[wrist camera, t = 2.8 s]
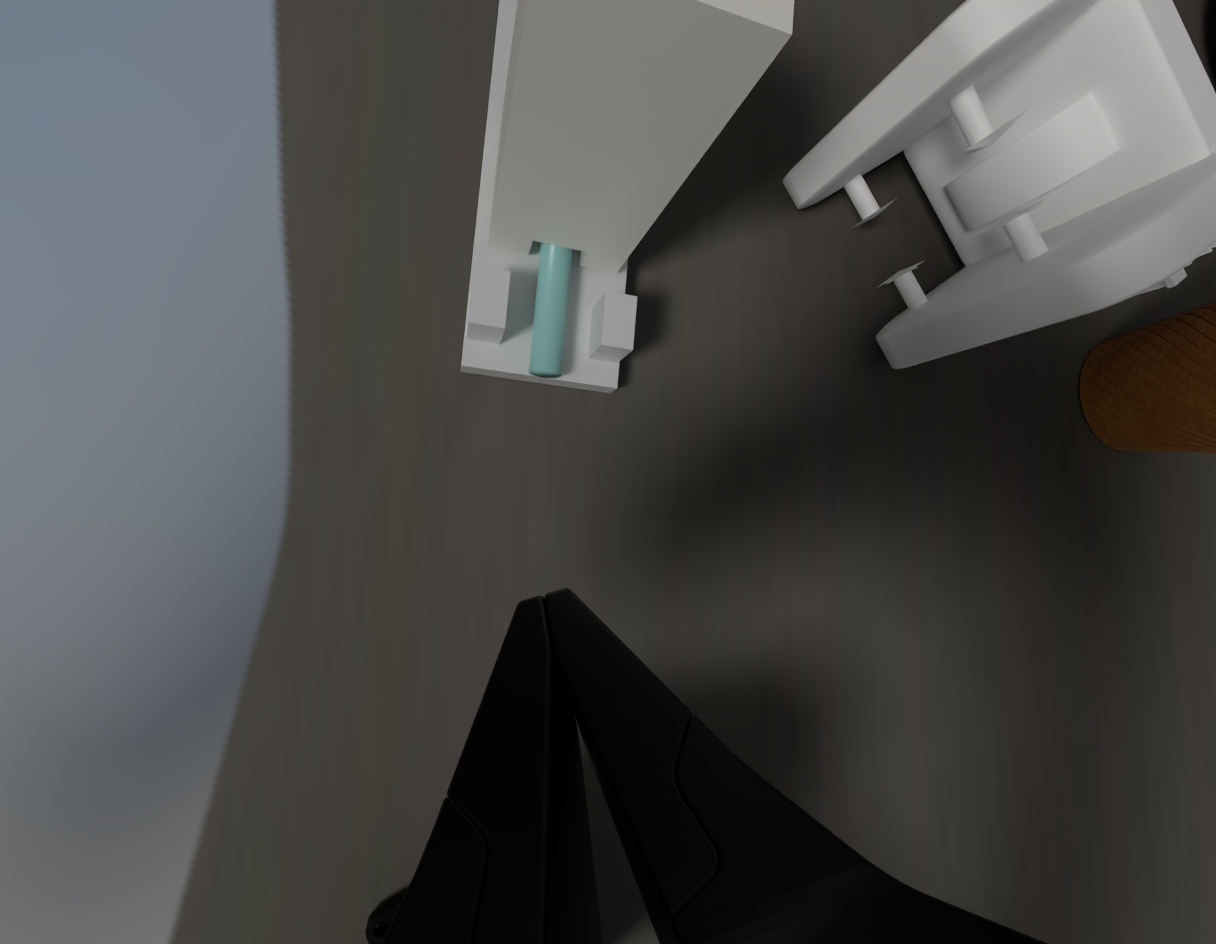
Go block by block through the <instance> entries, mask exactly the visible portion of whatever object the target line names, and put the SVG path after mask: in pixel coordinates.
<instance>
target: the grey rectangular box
mask: <svg viewBox="0 0 1216 944" xmlns="http://www.w3.org/2000/svg"><path fill="white" fill-rule="evenodd" d="M793 11H794V0H518V2H517V9H516V16H515V23H514V30H513V37H512V44H511V51H510V58H509V66H508V73H507V80H506V87H505V94H504V101H503V108H502V115H501V123H500V133H499V143H498V152H497V162H496V172H495V181H494V191H493V201H492V211H491V220H490V230H489V240H488V247H492V248H497V249H502V250H507V251H511V252H516V253H521V254H526V255H528V254H529V251H530V248H531V245H532V242H533V241H537V242H542V243H547V244H551V245H556V246H561V247H565V248H570V249H575V250H579V251H581V256H580V266H584V267H589V268H594V269H599V270H604V271H609V272H613V273H617V272H618V271H619V269H620V268H621V267H622V265H623V264H624V262H625V261H626V260H627V258H628V257H629V256H630V254H631V253H632V252H633V250H634V249H635V248H636V246H637V245H638V243H639V242H640V241H641V239H642V238H643V237H644V235H645V234H646V233H647V231H648V230H649V228H650V227H651V226H652V224H653V223H654V222H655V220H656V219H657V218H658V216H659V215H660V214H661V212H662V211H663V209H664V208H665V207H666V205H667V204H668V203H669V201H670V200H671V199H672V197H673V196H674V195H675V193H676V192H677V190H678V189H679V188H680V186H681V185H682V184H683V182H684V181H685V180H686V178H687V177H688V175H689V174H690V173H691V171H692V170H693V169H694V167H695V166H696V165H697V163H698V162H699V161H700V159H701V158H702V156H703V155H704V154H705V152H706V151H707V150H708V148H709V147H710V146H711V144H712V143H713V141H714V140H715V139H716V137H717V136H718V135H719V133H720V132H721V131H722V129H723V128H724V127H725V125H726V124H727V122H728V121H729V120H730V118H731V117H732V116H733V114H734V113H735V112H736V110H737V109H738V108H739V106H740V105H741V103H742V102H743V101H744V99H745V98H746V97H747V95H748V94H749V93H750V91H751V90H752V88H753V87H754V86H755V84H756V83H757V82H758V80H759V79H760V78H761V76H762V75H763V74H764V72H765V71H766V69H767V68H768V67H769V65H770V64H771V63H772V61H773V60H774V59H775V57H776V56H777V55H778V53H779V52H780V50H781V49H782V48H783V46H784V45H785V44H786V42H787V41H788V40H789V38H790V37H791V35H792V28H793Z"/></svg>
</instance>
